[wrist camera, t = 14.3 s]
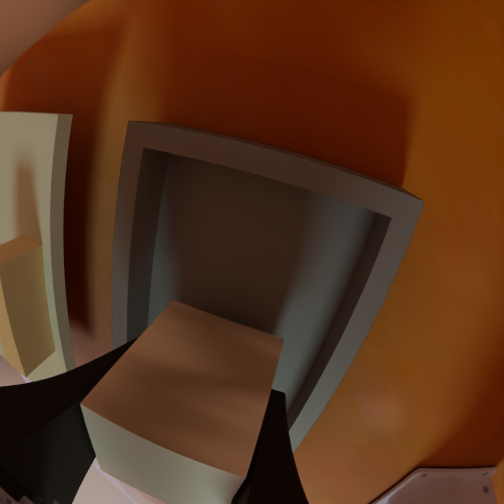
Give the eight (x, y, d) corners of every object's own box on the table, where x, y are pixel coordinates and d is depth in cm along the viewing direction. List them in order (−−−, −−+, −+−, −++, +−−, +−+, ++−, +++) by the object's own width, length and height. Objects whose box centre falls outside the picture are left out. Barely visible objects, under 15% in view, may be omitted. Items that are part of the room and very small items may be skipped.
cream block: (284, 338, 11) (245, 477, 6) (255, 409, 13) (217, 520, 7) (173, 299, 12) (79, 403, 6) (165, 375, 14) (101, 470, 8)
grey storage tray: (404, 189, 10) (424, 201, 8) (277, 451, 16) (270, 482, 14) (163, 122, 11) (128, 120, 9) (138, 399, 18) (119, 424, 15)
